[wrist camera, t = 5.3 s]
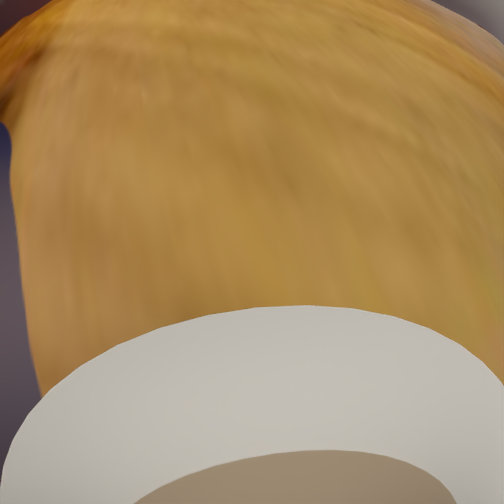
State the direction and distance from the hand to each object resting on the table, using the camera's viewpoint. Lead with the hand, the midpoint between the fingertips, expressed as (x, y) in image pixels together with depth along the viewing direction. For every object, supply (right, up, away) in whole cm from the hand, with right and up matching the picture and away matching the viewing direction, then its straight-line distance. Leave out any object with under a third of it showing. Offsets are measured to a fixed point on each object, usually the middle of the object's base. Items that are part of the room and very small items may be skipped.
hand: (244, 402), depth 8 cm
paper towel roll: (0, -4, +6) cm, 7 cm away
